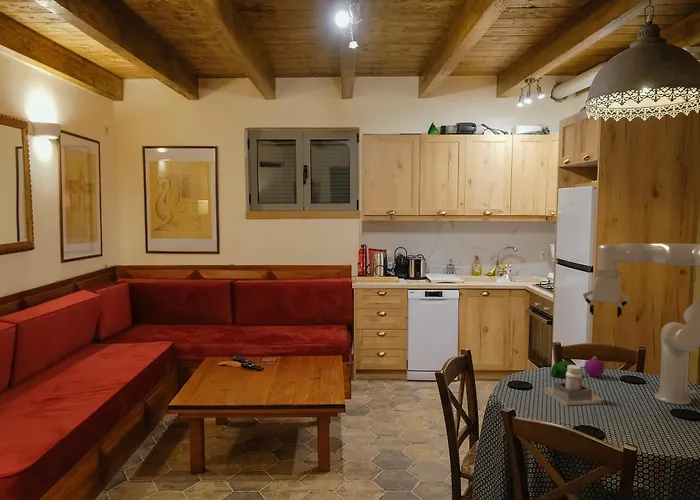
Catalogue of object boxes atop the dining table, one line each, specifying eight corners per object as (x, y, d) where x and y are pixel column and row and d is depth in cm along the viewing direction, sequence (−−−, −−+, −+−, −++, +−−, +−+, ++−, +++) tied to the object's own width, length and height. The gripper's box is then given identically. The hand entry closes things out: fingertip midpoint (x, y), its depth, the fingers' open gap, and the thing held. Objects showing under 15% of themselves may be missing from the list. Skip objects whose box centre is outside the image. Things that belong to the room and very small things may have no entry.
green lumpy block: (561, 387, 241) (563, 372, 236) (549, 381, 245) (551, 366, 240) (575, 373, 247) (577, 358, 242) (563, 367, 251) (565, 353, 247)
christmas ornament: (584, 372, 249) (585, 351, 248) (603, 374, 245) (604, 353, 245) (584, 377, 241) (585, 356, 240) (604, 380, 238) (605, 358, 237)
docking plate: (578, 389, 225) (578, 379, 225) (602, 403, 210) (602, 392, 209) (543, 391, 223) (544, 381, 222) (565, 405, 207) (566, 394, 207)
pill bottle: (572, 390, 220) (573, 363, 219) (584, 394, 215) (585, 367, 214) (561, 392, 217) (562, 365, 216) (573, 397, 212) (575, 369, 211)
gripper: (630, 274, 215) (628, 315, 217) (584, 272, 222) (582, 312, 224) (631, 276, 209) (629, 319, 210) (584, 274, 216) (582, 315, 217)
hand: (605, 315), depth 217 cm, fingers open, 9 cm apart
